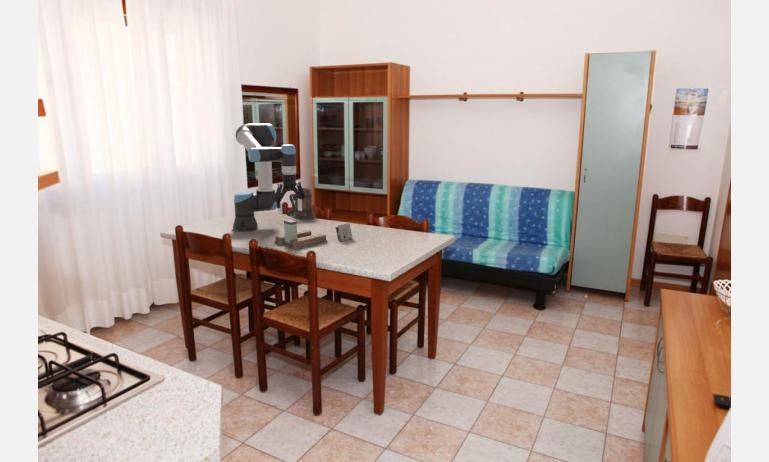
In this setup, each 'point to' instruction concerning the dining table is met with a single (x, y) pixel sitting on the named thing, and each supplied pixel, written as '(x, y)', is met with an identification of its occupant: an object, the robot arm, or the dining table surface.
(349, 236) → the electrical switch
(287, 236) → the fader tab
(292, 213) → the tankard
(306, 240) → the brown wooden tray
